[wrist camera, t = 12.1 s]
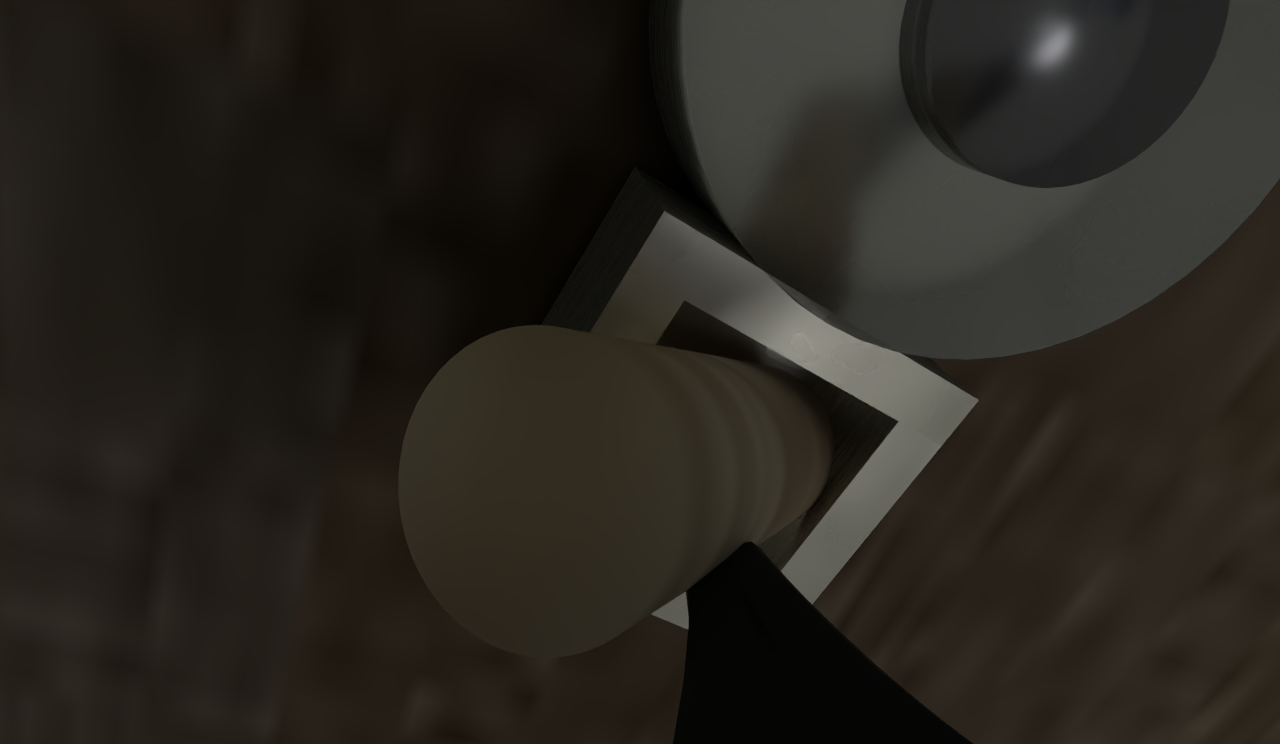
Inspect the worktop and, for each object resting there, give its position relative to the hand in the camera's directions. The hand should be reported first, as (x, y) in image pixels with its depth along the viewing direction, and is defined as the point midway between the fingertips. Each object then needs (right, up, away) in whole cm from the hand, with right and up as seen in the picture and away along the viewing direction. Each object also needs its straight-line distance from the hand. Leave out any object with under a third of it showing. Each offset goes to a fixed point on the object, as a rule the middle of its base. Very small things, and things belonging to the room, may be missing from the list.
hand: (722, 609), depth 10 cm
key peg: (+1, +2, +5) cm, 5 cm away
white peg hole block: (+2, +7, +5) cm, 9 cm away
